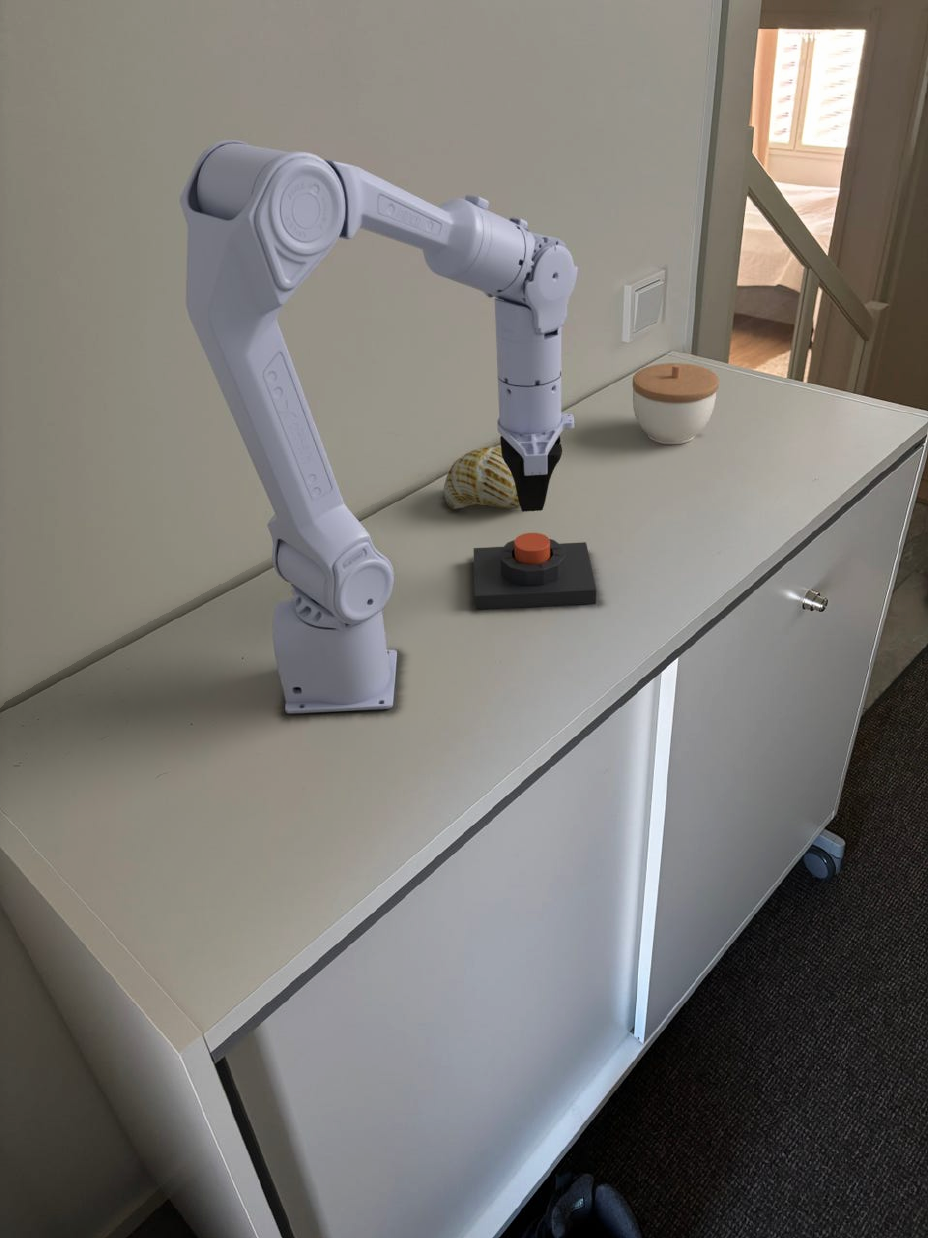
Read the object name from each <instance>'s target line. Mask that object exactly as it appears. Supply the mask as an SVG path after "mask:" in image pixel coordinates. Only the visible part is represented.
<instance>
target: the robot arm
mask: <svg viewBox="0 0 928 1238" xmlns="http://www.w3.org/2000/svg"><path fill="white" fill-rule="evenodd" d="M179 203H180V207H181V209H182V212H183V216H184V219H185V222H186V225H187V245H186V246H187V249H186V250H187V251H186V277H185V278H186V279H185V283H186V284H185V306H186V310H187V313H188V317H189V320H190V321H191V324H192V327H193V328H194V331H195V333H196V335H197V338H198V340H199V342H200V345H201V347H202V349H203V352H204V354H205V356H206V359H207V361H208V363H209V366H210V368H211V370H212V373H213V375H214V377H215V379H216V381H217V383H218V385H219V388H220V391H221V393H222V395H223V397H224V400H225V402H226V404H227V407H228V409H229V411H230V413H231V416H232V417H233V418H232V419H233V420H234V423H235V426H236V427H237V429H238V432H239V434H240V436H241V439H242V441H243V443H244V446H245V448H246V450H247V453H248V455H249V457H250V459H251V462H252V464H253V467H254V469H255V471H256V474H257V475H258V477H259V480H260V482H261V484H262V487H263V489H264V491H265V493H266V495H267V498H268V500H269V504H270V505H271V507H272V510H273V512H274V514H273V515H272V517H270V519H269V521H268V522H267V525H266V526H267V528H268V531H269V534H270V536H271V539H272V551H271V552H272V553H271V562H272V565H273V566H272V567H273V568H274V570H275V572H276V574H277V575H278V576H279V577H280V578H281V579H282V580H283V581H284V582H287V583H290V584H291V585H290V586H291V592H292V596H293V598H292V599H288V600H281V601H279V602H277V603H276V605H275V606H274V610H273V618H272V641H273V642H272V643H273V650H274V656H275V661H276V665H277V670H278V674H279V678H280V683H281V687H282V691H283V695H284V701H285V705H284V709H285V713H287V714H291V715H292V714H308V713H309V714H310V713H329V712H330V713H331V712H351V711H372V710H389V709H392V708H393V706H394V699H395V685H396V675H397V673H396V672H397V663H398V662H397V661H398V652H397V650H395V649H388V646H387V638H386V633H385V631H386V630H385V623H384V617H383V616H384V615H383V611H384V610H385V606H386V604H387V602H388V601H389V600H390V596H391V594H392V592H393V589H394V584H395V571H394V568H393V565H392V563H391V561H390V560H389V559H388V558H387V557H386V556H385V555H384V554H382V553H381V552H380V551H379V550H377V549H376V547H375V546H374V542H373V541H372V538H371V535H370V534H369V532H368V530H367V529H366V528H365V527H364V526H363V524H362V523H361V522H360V521H359V519H357V517H356V515H354V513H352V511H351V510H350V509H349V508H348V507H347V505H346V504H345V501H344V499H343V496H342V494H341V491H340V488H339V486H338V483H337V480H336V477H335V474H334V472H333V469H332V466H331V464H330V460H329V458H328V455H327V453H326V450H325V448H324V445H323V443H322V442H323V441H322V439H321V437H320V434H319V431H318V428H317V426H316V423H315V419H314V417H313V415H312V412H311V410H310V406H309V404H308V401H307V398H306V396H305V393H304V391H303V388H302V385H301V381H300V380H299V379H300V378H299V377H298V373H297V371H296V368H295V366H294V363H293V361H292V357H291V355H290V352H289V349H288V346H287V343H286V341H285V339H284V336H283V334H282V331H281V328H280V325H279V323H278V317H279V314H280V312H281V310H282V308H283V306H284V305H285V304H286V303H287V302H288V301H289V299H290V298H291V297H292V296H293V295H294V294H295V292H296V291H297V290H298V289H299V288H300V287H301V285H302V284H304V282H305V281H306V280H307V278H309V276H310V275H311V274H312V273H313V272H314V271H315V269H316V268H317V267H318V266H319V264H320V263H321V262H322V261H323V260H324V258H325V257H327V255H328V254H329V253H330V252H331V250H332V249H333V247H334V246H335V244H336V243H337V241H338V240H339V238H341V239H344V240H351V239H352V238H354V237H355V235H356V233H358V230H359V229H362V230H365V231H367V232H370V233H373V234H376V235H379V236H382V237H385V238H388V239H391V240H394V241H397V242H399V243H402V244H405V245H408V246H411V247H413V248H417V249H419V250H422V253H423V258H424V261H425V263H426V265H427V267H428V268H429V270H430V271H431V272H433V274H435V275H437V276H440V277H442V278H445V279H448V280H451V281H453V282H455V283H458V284H462V285H464V286H467V287H469V288H473V289H475V290H478V291H481V292H483V294H484V295H485V296H486V297H487V298H494V319H495V322H494V323H495V339H496V340H495V341H496V342H495V345H496V369H497V371H496V372H497V394H498V395H497V397H498V419H497V422H496V424H497V425H496V426H497V427H496V428H497V432H498V434H499V435H500V437H499V440H500V441H499V442H500V445H501V453H502V457H503V459H504V462H505V463H506V465H507V466H508V468H509V469H510V471H511V474H512V476H513V479H514V482H515V486H516V491H517V496H518V500H519V504H520V506H519V507H520V509H521V512H539V511H543V510H544V507H545V503H546V500H547V496H548V490H549V486H550V481H551V478H552V475H553V473H554V470H555V468H556V466H557V465H558V463H559V461H560V460H561V459H562V455H563V447H562V443H561V433H562V432H563V431H565V430H571V429H572V430H573V429H574V428H575V417H574V415H573V414H572V413H562V349H563V348H562V344H563V343H562V337H563V336H562V332H563V331H562V329H563V326H564V325H565V323H566V319H568V305H569V300H570V297H571V296H572V293H573V291H574V289H575V287H576V283H577V279H578V271H579V266H577V265H575V263H574V259H573V255H572V254H571V252H570V250H569V249H567V245H566V243H565V242H564V241H563V240H561V239H560V238H558V237H554V236H550V235H545V234H540V233H535V232H531V231H530V230H529V229H528V226H529V225H528V222H527V220H524V219H522V218H520V217H515V216H511V217H510V218H509V219H508V218H505V217H503V216H501V215H500V214H496V213H494V212H492V211H490V210H488V209H489V205H490V202H489V200H487V199H485V198H483V197H481V196H478V195H472V194H466V195H465V197H464V198H462V197H461V198H460V197H455V198H450V199H447V200H446V201H444V202H442V203H440V204H439V205H438V206H436V205H434V204H433V203H430V202H429V201H426V200H424V199H422V198H420V197H419V196H417V195H414V194H412V193H411V192H409V191H406V190H405V189H403V188H401V187H399V186H397V185H395V184H393V183H391V182H389V181H387V180H385V179H383V178H381V177H380V176H377V175H375V174H373V173H371V172H369V171H367V170H365V169H363V168H361V167H359V166H357V165H352V164H350V163H345V162H339V161H335V160H331V159H325V158H321V157H320V156H319V155H316V154H314V153H312V152H307V151H298V150H297V151H294V150H293V151H284V150H279V149H274V148H267V147H261V146H256V145H251V144H249V143H247V142H245V141H242V140H237V139H225V140H224V139H223V140H220V141H218V142H214V143H213V144H211V145H210V146H209V147H207V148H206V149H205V150H204V151H203V152H202V153H201V154H200V155H199V156H198V159H197V160H196V161H195V164H194V166H193V169H192V171H191V173H190V174H189V177H188V179H187V181H186V184H185V185H184V188H183V190H182V192H181V195H180V196H179Z"/></svg>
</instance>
